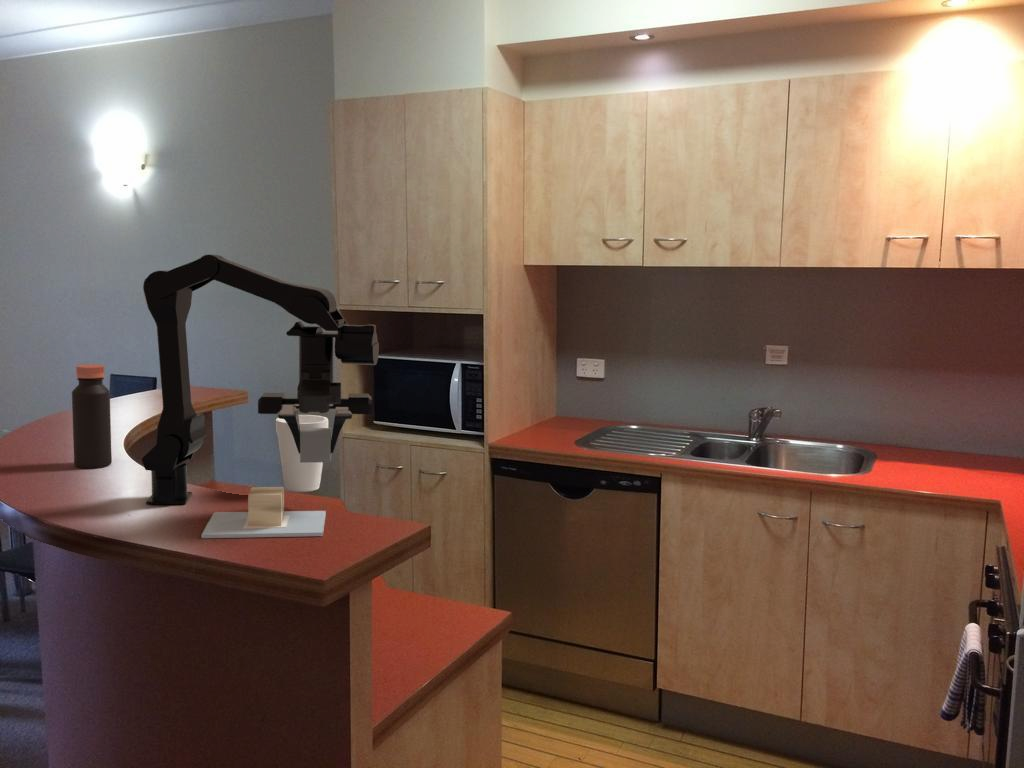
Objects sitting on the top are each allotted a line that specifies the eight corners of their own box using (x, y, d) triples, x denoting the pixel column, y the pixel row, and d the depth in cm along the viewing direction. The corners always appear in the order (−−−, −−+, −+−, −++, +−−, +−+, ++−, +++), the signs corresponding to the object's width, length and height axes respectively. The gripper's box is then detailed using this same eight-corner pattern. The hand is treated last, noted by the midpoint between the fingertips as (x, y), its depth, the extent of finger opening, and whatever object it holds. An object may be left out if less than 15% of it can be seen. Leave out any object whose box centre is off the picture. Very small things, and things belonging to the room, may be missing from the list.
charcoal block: (302, 456, 154) (302, 427, 154) (331, 455, 155) (331, 427, 154) (300, 462, 149) (300, 433, 149) (330, 462, 150) (330, 433, 150)
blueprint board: (214, 515, 146) (214, 511, 146) (325, 514, 149) (325, 510, 149) (201, 538, 134) (201, 533, 134) (322, 536, 137) (322, 531, 137)
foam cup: (337, 488, 166) (338, 420, 164) (295, 496, 159) (296, 425, 157) (307, 478, 172) (308, 413, 170) (266, 486, 165) (266, 418, 163)
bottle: (97, 470, 173) (94, 368, 170) (66, 467, 174) (63, 366, 172) (118, 462, 180) (116, 365, 177) (89, 460, 181) (86, 363, 178)
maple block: (252, 517, 143) (252, 487, 143) (283, 516, 144) (283, 486, 144) (248, 526, 139) (248, 495, 138) (281, 525, 139) (281, 494, 139)
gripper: (253, 368, 140) (254, 464, 143) (372, 369, 144) (371, 463, 146) (261, 360, 151) (261, 449, 153) (371, 361, 155) (370, 449, 157)
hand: (316, 453), depth 152 cm, fingers closed on charcoal block, 5 cm apart
